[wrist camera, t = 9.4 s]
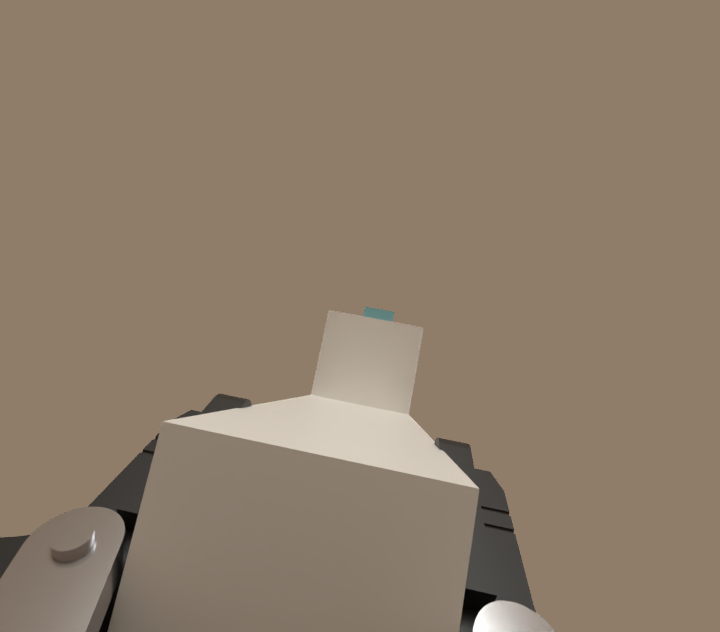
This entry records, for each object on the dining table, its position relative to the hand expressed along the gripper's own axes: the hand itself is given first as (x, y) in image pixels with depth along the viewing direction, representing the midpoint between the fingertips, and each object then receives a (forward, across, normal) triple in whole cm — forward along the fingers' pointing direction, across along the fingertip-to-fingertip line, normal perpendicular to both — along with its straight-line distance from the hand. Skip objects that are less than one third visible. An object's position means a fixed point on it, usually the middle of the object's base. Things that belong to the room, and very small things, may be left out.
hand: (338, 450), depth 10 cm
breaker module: (+4, 0, -6) cm, 7 cm away
